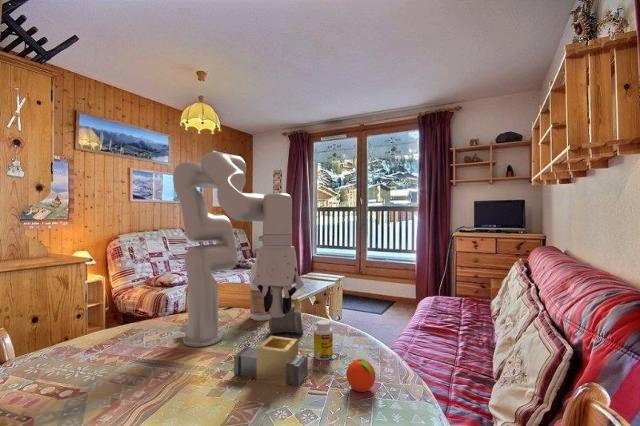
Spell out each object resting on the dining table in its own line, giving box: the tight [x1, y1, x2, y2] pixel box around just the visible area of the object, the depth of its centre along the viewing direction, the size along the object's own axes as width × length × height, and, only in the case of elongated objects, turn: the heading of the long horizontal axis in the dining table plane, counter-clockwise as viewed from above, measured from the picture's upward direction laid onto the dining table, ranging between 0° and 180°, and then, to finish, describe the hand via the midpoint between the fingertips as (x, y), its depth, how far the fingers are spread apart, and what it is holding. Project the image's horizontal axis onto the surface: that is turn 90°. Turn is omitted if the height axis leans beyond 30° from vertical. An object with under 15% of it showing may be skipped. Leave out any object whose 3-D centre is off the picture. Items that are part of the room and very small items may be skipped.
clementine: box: [346, 358, 376, 393], centre depth 74 cm, size 8×7×7 cm
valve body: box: [233, 335, 309, 388], centre depth 81 cm, size 18×8×8 cm, turn 72°
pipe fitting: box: [268, 302, 304, 335], centre depth 110 cm, size 12×8×10 cm
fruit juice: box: [249, 247, 273, 322], centre depth 127 cm, size 9×9×28 cm
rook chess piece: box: [269, 286, 285, 318], centre depth 81 cm, size 4×4×8 cm
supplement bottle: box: [313, 319, 334, 361], centre depth 92 cm, size 6×6×10 cm
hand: (277, 310), depth 81 cm, fingers closed on rook chess piece, 4 cm apart
